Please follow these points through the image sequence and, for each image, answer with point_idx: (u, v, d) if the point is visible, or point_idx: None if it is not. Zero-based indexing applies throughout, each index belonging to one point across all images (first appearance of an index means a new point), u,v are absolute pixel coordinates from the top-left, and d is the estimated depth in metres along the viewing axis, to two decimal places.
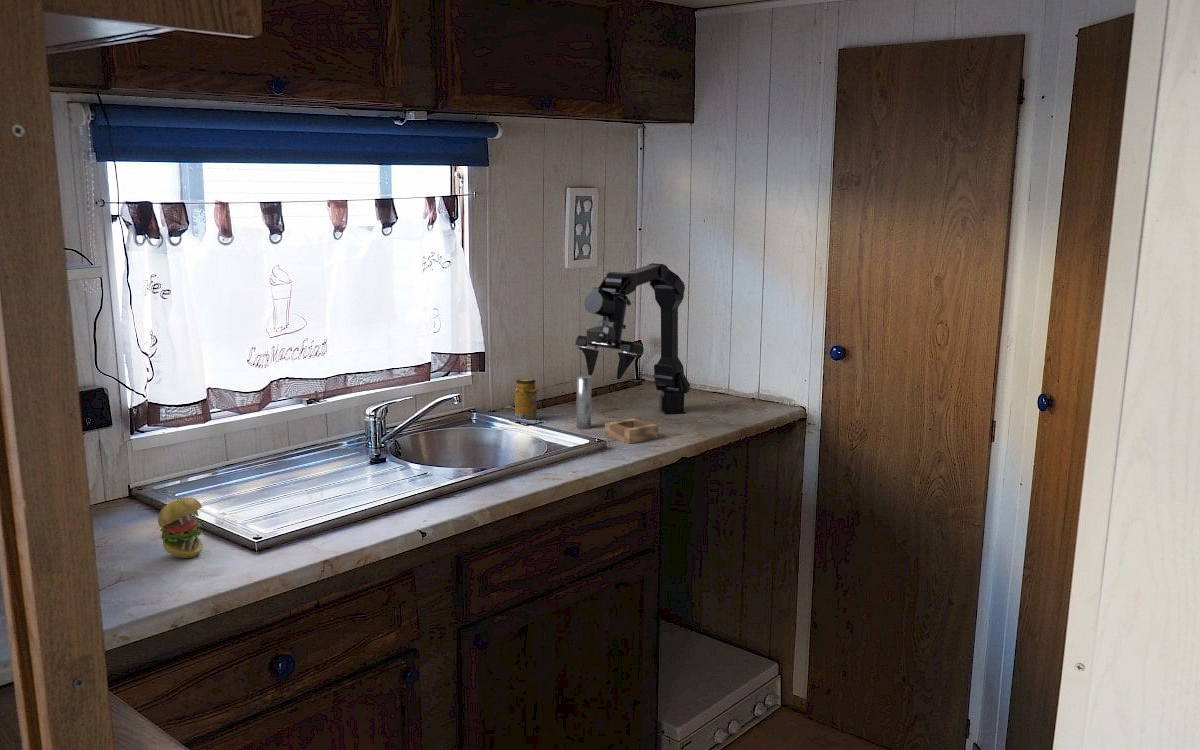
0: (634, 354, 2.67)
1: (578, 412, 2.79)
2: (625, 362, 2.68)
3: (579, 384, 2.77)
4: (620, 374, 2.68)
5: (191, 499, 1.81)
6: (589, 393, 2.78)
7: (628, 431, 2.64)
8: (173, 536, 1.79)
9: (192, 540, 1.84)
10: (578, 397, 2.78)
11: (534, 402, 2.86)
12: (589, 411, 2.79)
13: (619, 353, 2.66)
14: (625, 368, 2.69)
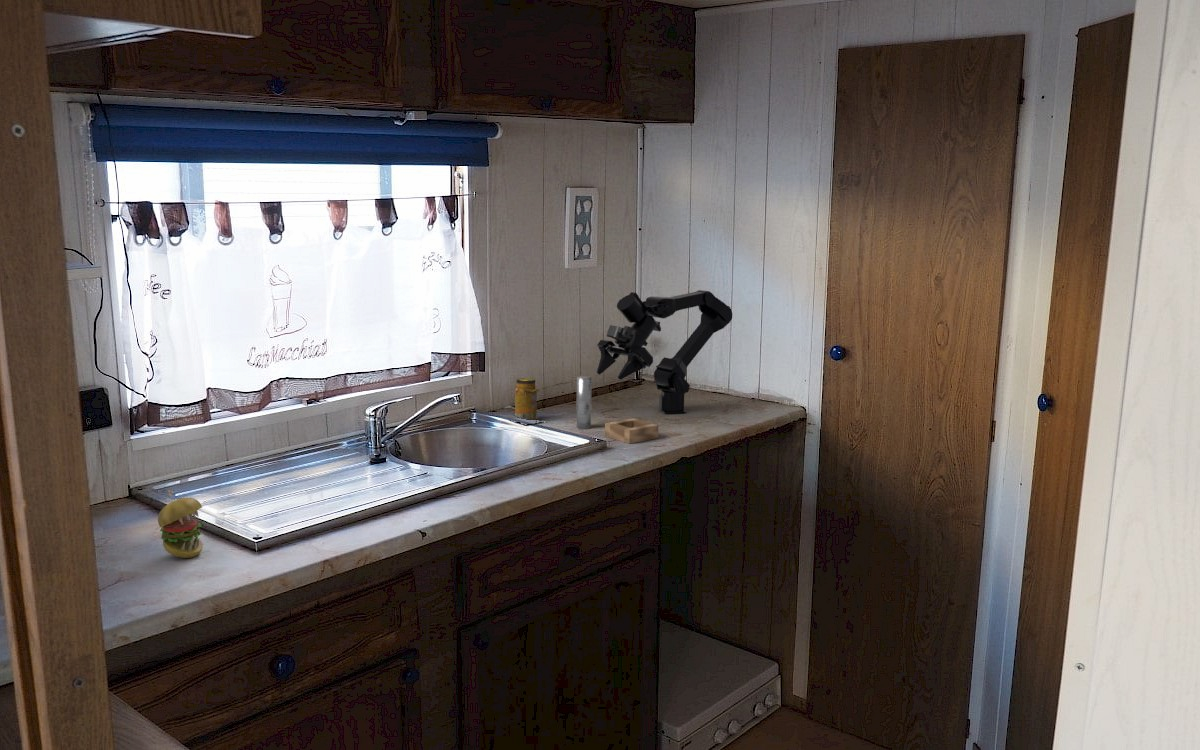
0: (642, 362, 2.80)
1: (578, 412, 2.79)
2: (631, 366, 2.81)
3: (579, 384, 2.77)
4: (623, 374, 2.80)
5: (191, 499, 1.81)
6: (589, 393, 2.78)
7: (628, 431, 2.64)
8: (173, 536, 1.79)
9: (192, 540, 1.84)
10: (578, 397, 2.78)
11: (534, 402, 2.86)
12: (589, 411, 2.79)
13: (629, 354, 2.80)
14: (629, 372, 2.81)
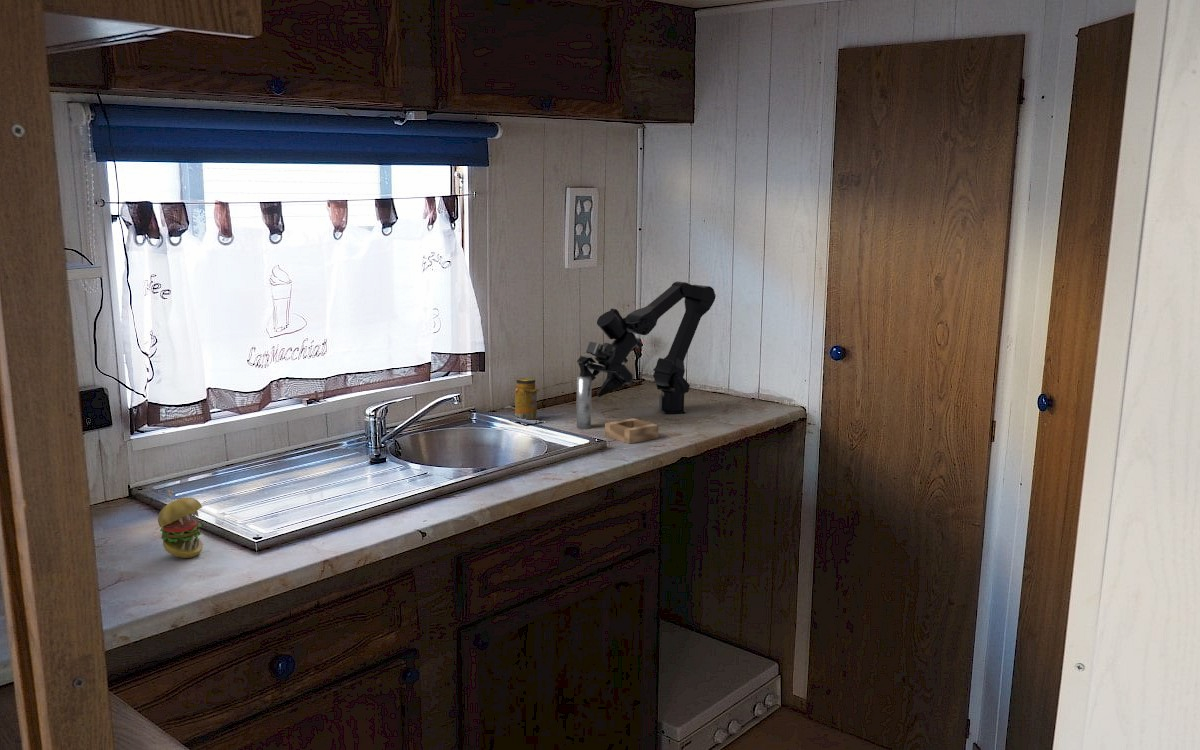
0: (621, 379, 2.77)
1: (578, 412, 2.79)
2: (611, 384, 2.77)
3: (579, 384, 2.77)
4: (602, 391, 2.76)
5: (191, 499, 1.81)
6: (589, 393, 2.78)
7: (628, 431, 2.64)
8: (173, 536, 1.79)
9: (192, 540, 1.84)
10: (578, 397, 2.78)
11: (534, 402, 2.86)
12: (589, 411, 2.79)
13: (608, 371, 2.76)
14: (608, 389, 2.77)
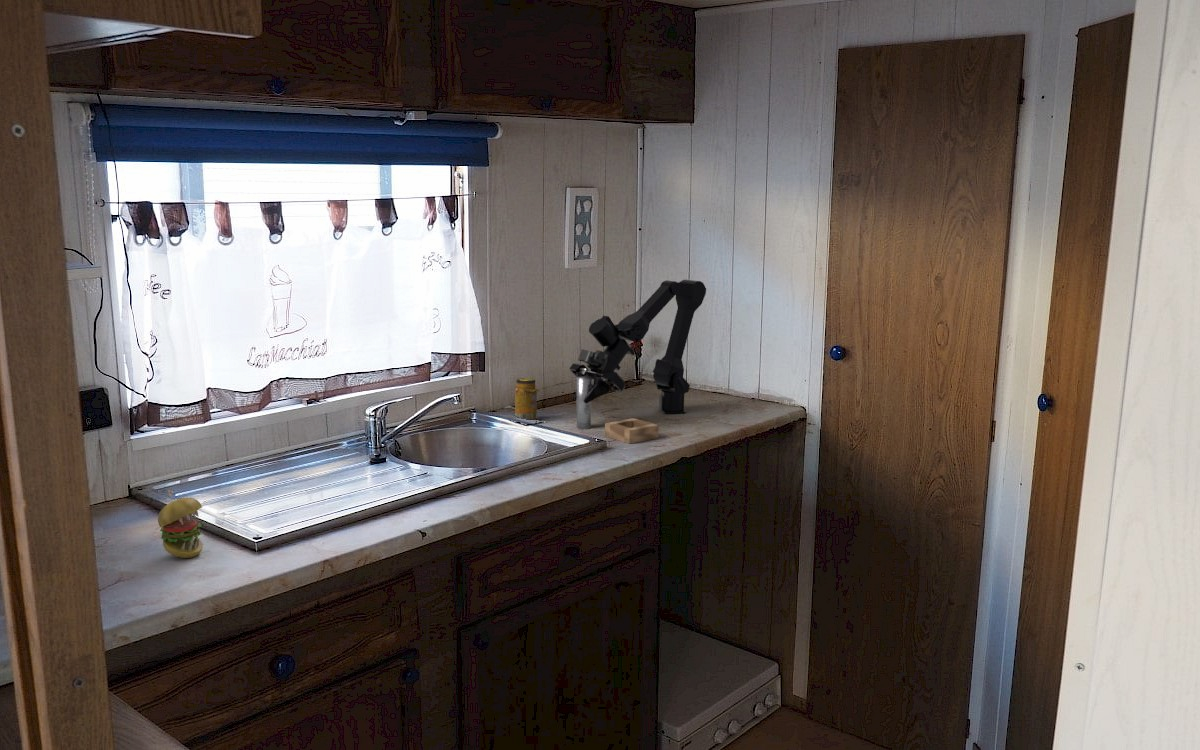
0: (608, 385, 2.77)
1: (578, 412, 2.79)
2: (597, 390, 2.78)
3: (579, 384, 2.77)
4: (588, 398, 2.77)
5: (191, 499, 1.81)
6: None
7: (628, 431, 2.64)
8: (173, 536, 1.79)
9: (192, 540, 1.84)
10: (578, 397, 2.78)
11: (534, 402, 2.86)
12: (589, 411, 2.79)
13: (595, 377, 2.77)
14: (595, 396, 2.78)
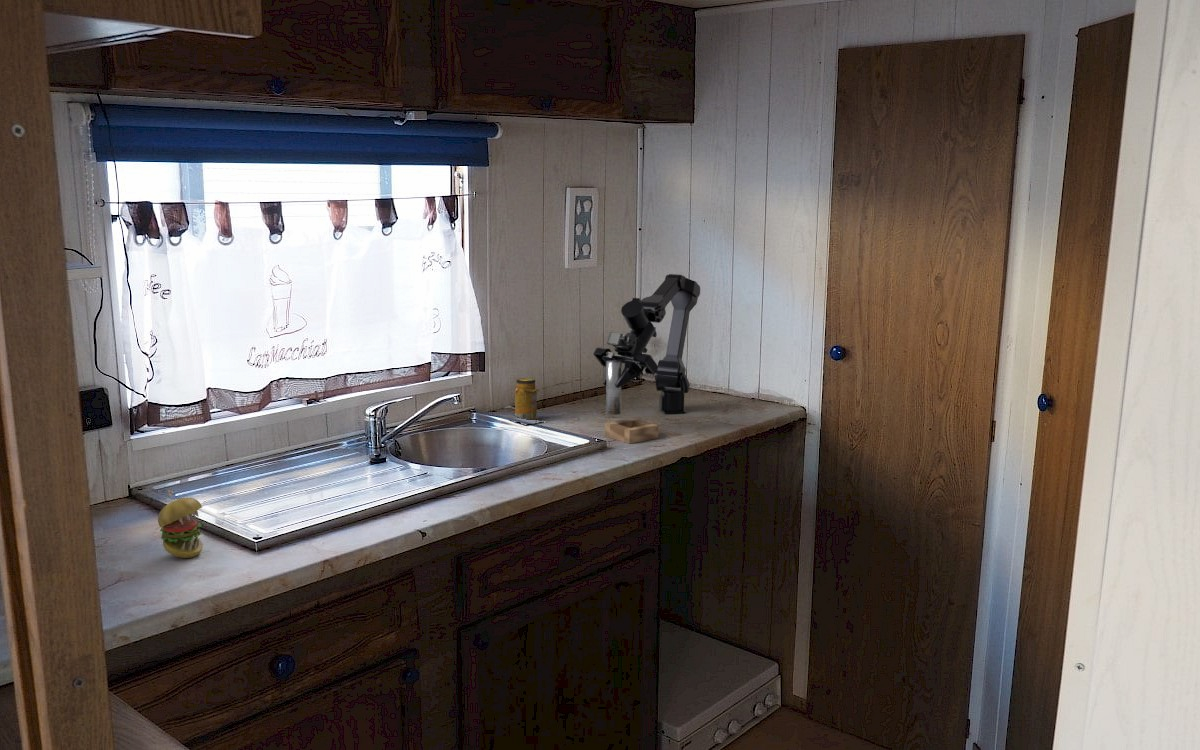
0: (640, 368, 2.70)
1: (609, 397, 2.70)
2: (628, 374, 2.70)
3: (610, 368, 2.69)
4: (620, 382, 2.69)
5: (191, 499, 1.81)
6: None
7: (628, 431, 2.64)
8: (173, 536, 1.79)
9: (192, 540, 1.84)
10: (609, 382, 2.69)
11: (534, 402, 2.86)
12: (620, 396, 2.71)
13: (626, 361, 2.69)
14: (627, 380, 2.70)
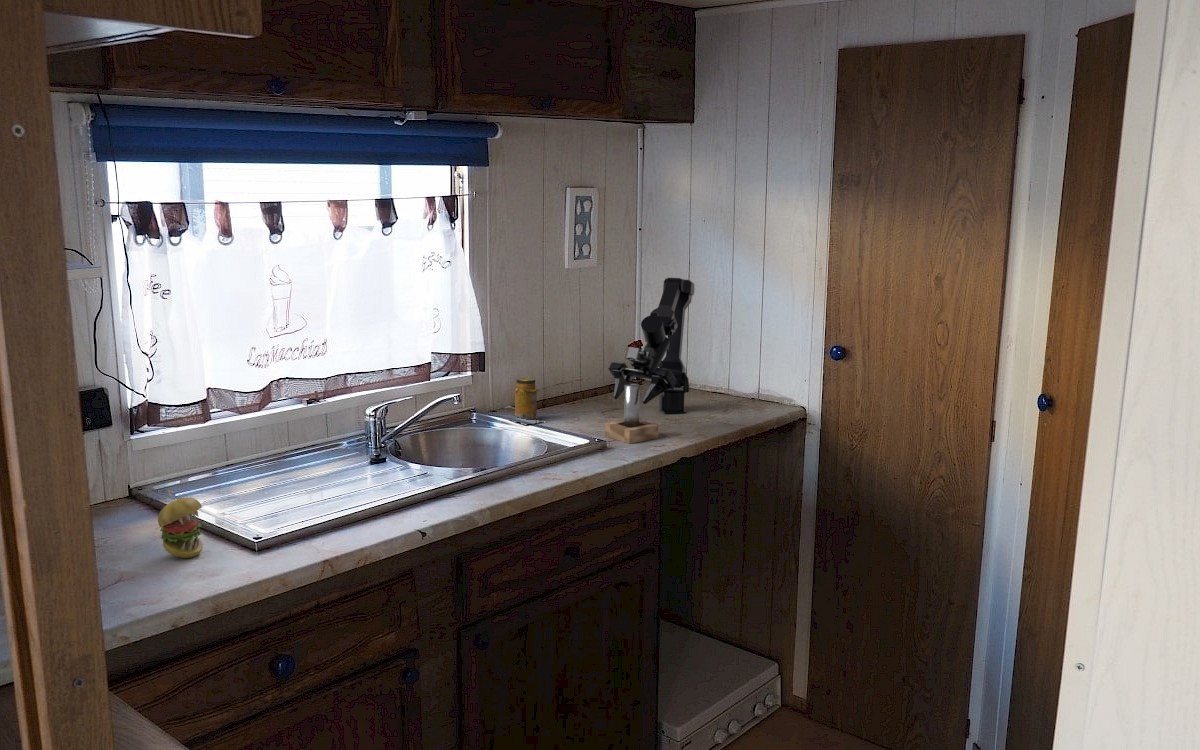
0: (666, 384, 2.67)
1: (627, 421, 2.69)
2: (655, 390, 2.67)
3: (629, 392, 2.67)
4: (647, 398, 2.66)
5: (191, 499, 1.81)
6: (638, 401, 2.69)
7: (628, 431, 2.64)
8: (173, 536, 1.79)
9: (192, 540, 1.84)
10: (627, 406, 2.68)
11: (534, 402, 2.86)
12: (638, 420, 2.70)
13: (653, 376, 2.66)
14: (653, 396, 2.67)
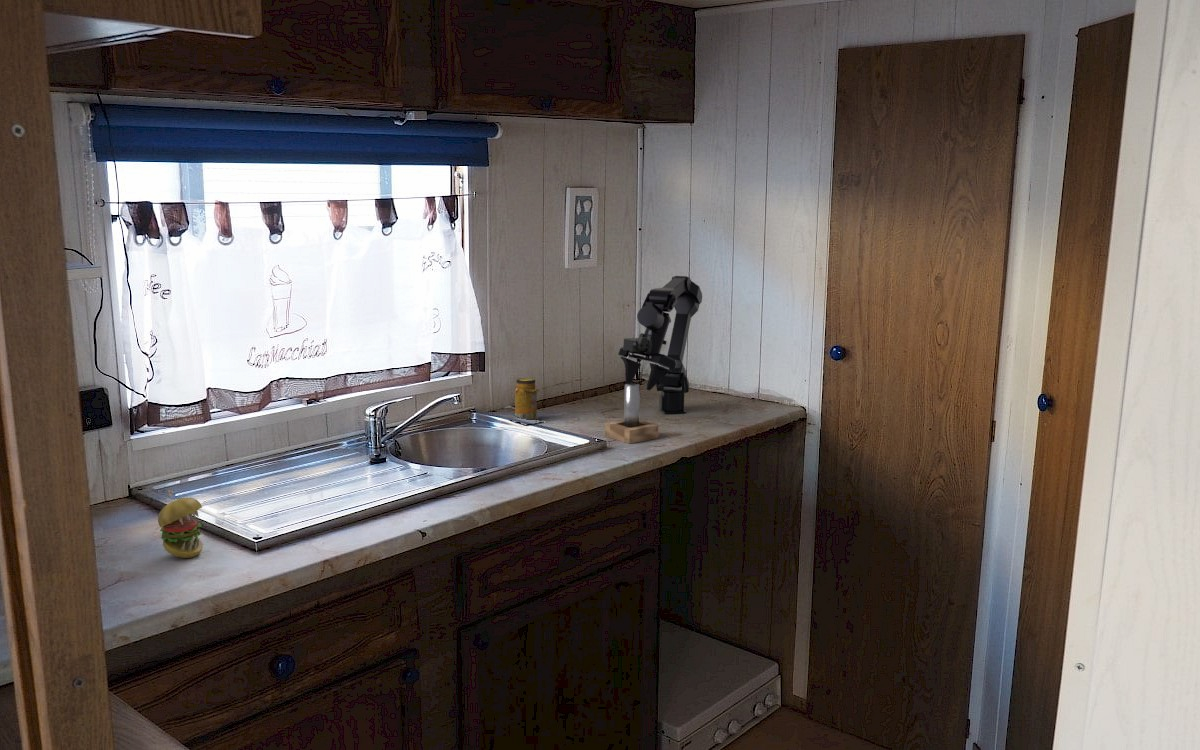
0: (665, 367, 2.76)
1: (627, 421, 2.69)
2: (657, 374, 2.77)
3: (629, 392, 2.67)
4: (650, 385, 2.77)
5: (191, 499, 1.81)
6: (638, 401, 2.69)
7: (628, 431, 2.64)
8: (173, 536, 1.79)
9: (192, 540, 1.84)
10: (628, 406, 2.68)
11: (534, 402, 2.86)
12: (638, 420, 2.70)
13: (650, 364, 2.76)
14: (656, 380, 2.78)
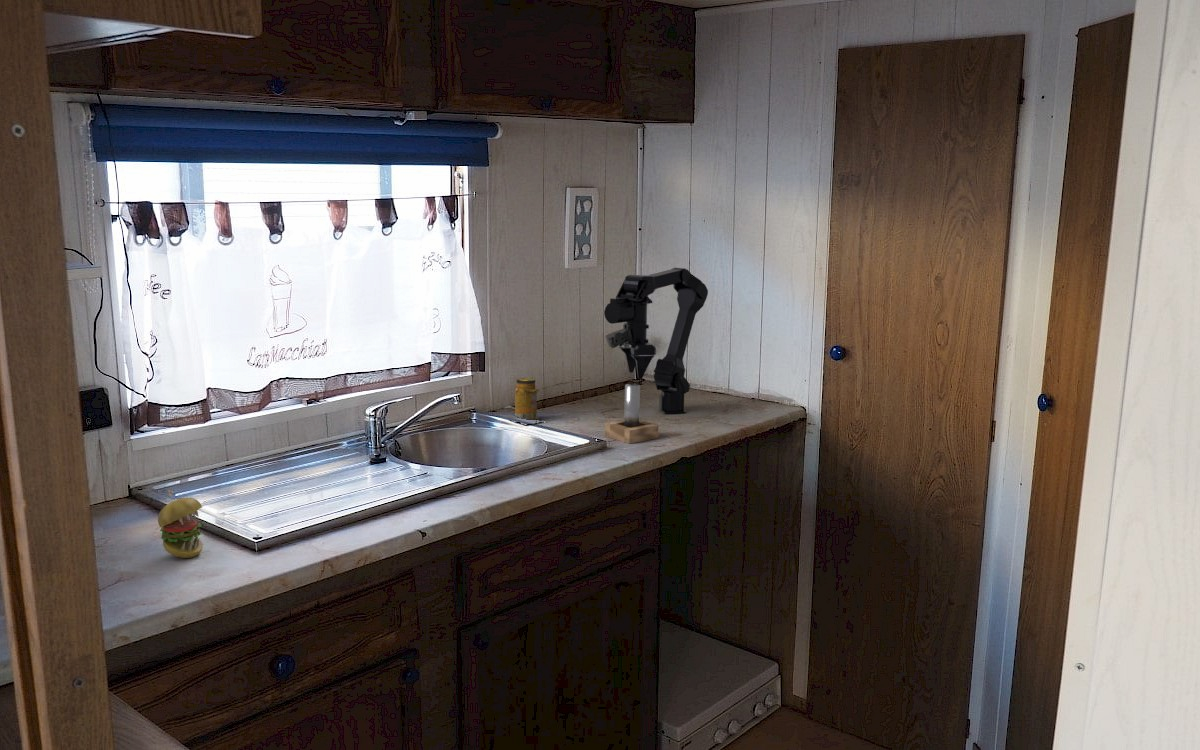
0: (646, 355, 2.79)
1: (628, 421, 2.69)
2: (642, 362, 2.81)
3: (629, 392, 2.67)
4: (640, 373, 2.82)
5: (191, 499, 1.81)
6: (639, 401, 2.69)
7: (628, 431, 2.64)
8: (173, 536, 1.79)
9: (192, 540, 1.84)
10: (628, 406, 2.68)
11: (534, 402, 2.86)
12: (638, 420, 2.70)
13: (631, 355, 2.80)
14: (644, 368, 2.81)
